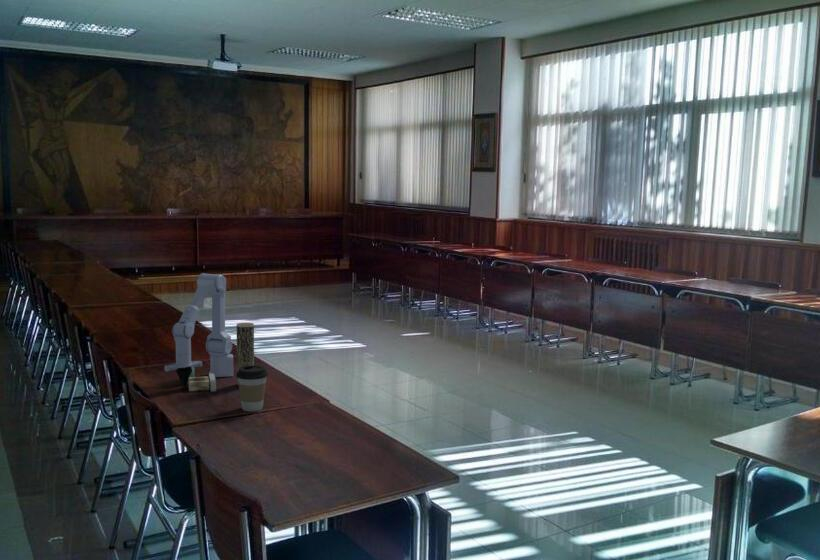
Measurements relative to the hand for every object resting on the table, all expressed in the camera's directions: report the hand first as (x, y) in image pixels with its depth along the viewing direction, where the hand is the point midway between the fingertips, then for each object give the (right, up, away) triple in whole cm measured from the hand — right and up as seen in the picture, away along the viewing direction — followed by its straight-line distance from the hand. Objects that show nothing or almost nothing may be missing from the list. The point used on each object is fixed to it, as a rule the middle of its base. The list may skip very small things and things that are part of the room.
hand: (184, 386), depth 293 cm
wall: (+10, -1, +3) cm, 11 cm away
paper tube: (+23, -1, +8) cm, 24 cm away
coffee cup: (+32, -5, -23) cm, 39 cm away
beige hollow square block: (+5, -1, +2) cm, 6 cm away
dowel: (0, 0, +8) cm, 9 cm away
